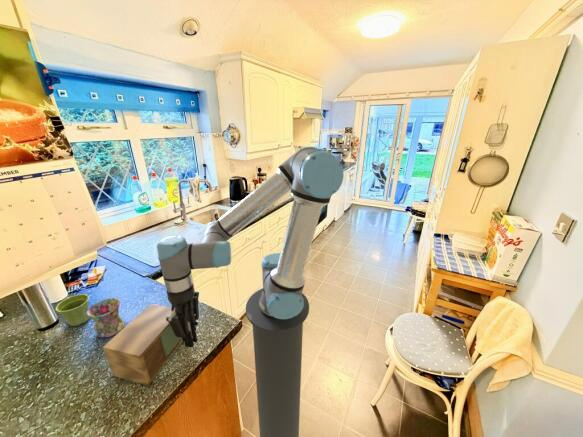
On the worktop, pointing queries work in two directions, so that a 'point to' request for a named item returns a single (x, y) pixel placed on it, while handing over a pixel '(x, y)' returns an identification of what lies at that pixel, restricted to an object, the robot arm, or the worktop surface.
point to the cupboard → (140, 346)
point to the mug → (106, 317)
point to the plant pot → (74, 309)
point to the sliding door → (170, 339)
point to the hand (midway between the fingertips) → (191, 343)
